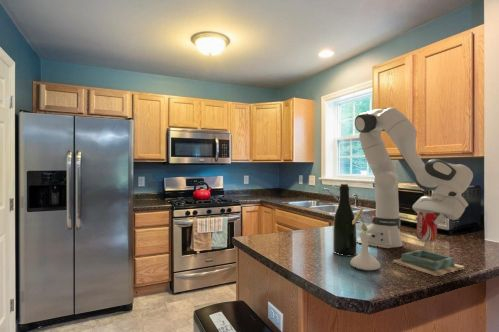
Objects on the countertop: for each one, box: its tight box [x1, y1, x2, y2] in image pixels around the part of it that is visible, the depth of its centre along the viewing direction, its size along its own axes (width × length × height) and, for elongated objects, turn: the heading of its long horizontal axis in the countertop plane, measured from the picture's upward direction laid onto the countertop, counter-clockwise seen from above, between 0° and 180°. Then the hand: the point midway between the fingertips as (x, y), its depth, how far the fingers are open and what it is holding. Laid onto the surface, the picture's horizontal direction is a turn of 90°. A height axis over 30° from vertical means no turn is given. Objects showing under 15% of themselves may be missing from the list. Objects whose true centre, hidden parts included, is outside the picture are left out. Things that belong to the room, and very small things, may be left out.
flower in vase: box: [349, 206, 381, 271], centre depth 115 cm, size 13×11×25 cm
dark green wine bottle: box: [332, 183, 358, 256], centre depth 136 cm, size 10×10×33 cm
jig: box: [392, 249, 465, 276], centre depth 117 cm, size 18×18×4 cm
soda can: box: [416, 210, 438, 243], centre depth 118 cm, size 7×7×12 cm
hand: (425, 222), depth 117 cm, fingers closed on soda can, 7 cm apart
